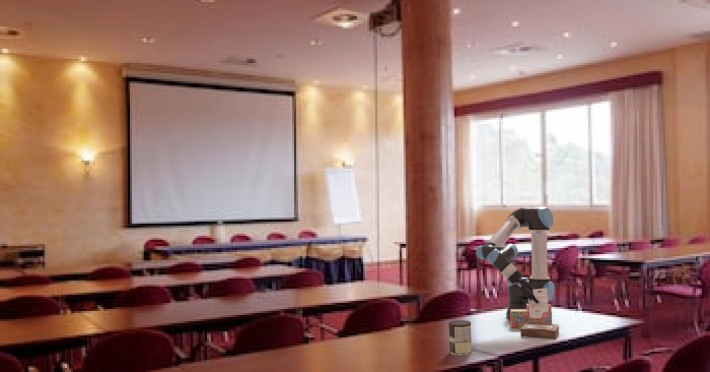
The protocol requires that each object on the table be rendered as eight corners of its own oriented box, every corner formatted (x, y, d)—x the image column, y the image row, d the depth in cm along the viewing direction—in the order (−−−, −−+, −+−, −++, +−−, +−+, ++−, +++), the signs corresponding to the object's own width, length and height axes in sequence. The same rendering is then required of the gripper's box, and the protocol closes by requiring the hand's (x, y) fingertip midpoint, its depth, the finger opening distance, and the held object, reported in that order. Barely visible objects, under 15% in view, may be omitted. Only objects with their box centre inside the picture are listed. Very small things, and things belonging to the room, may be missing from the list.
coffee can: (445, 353, 293) (444, 323, 294) (456, 349, 301) (455, 319, 302) (465, 356, 287) (463, 325, 287) (476, 351, 295) (475, 321, 295)
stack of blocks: (511, 328, 343) (511, 305, 344) (510, 326, 350) (509, 303, 350) (552, 328, 341) (551, 305, 341) (550, 325, 347) (549, 303, 347)
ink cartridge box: (543, 315, 328) (542, 287, 328) (548, 317, 323) (547, 288, 324) (528, 317, 326) (527, 288, 326) (533, 318, 321) (532, 289, 321)
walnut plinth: (525, 331, 334) (525, 323, 334) (558, 333, 327) (558, 325, 327) (520, 336, 322) (520, 328, 322) (555, 338, 315) (555, 330, 315)
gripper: (511, 276, 341) (543, 307, 334) (502, 281, 322) (536, 314, 315) (521, 266, 339) (553, 297, 332) (513, 271, 320) (547, 304, 312)
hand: (544, 306), depth 323 cm, fingers closed on ink cartridge box, 9 cm apart
